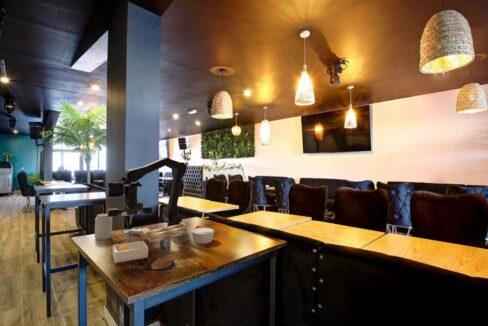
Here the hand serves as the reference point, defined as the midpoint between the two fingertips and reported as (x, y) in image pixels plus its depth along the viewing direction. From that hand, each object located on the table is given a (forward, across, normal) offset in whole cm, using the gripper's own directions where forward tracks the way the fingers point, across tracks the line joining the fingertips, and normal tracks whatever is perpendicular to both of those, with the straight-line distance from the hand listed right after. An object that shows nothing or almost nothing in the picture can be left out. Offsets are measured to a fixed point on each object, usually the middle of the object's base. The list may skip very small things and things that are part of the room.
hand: (129, 229), depth 114 cm
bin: (+7, -2, -16) cm, 18 cm away
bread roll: (+8, +6, -33) cm, 35 cm away
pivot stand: (+7, +12, -16) cm, 21 cm away
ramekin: (+7, +32, -12) cm, 35 cm away
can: (+7, -10, +16) cm, 20 cm away
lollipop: (+7, +37, +2) cm, 38 cm away
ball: (+4, -5, -16) cm, 17 cm away
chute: (+4, +10, -10) cm, 14 cm away
